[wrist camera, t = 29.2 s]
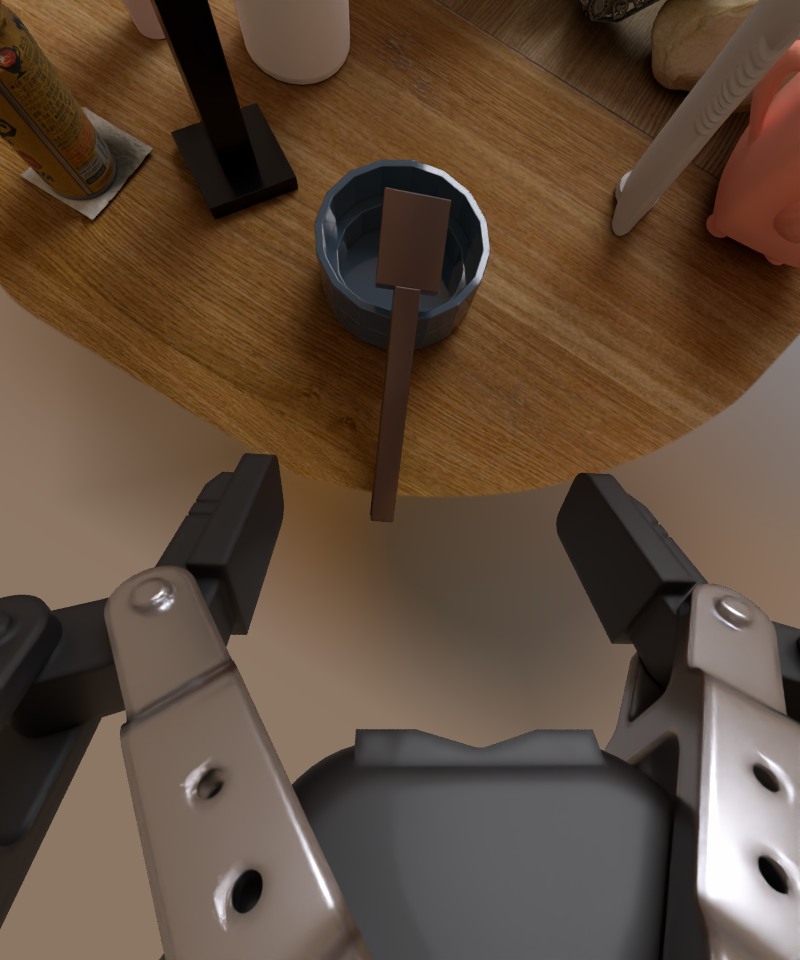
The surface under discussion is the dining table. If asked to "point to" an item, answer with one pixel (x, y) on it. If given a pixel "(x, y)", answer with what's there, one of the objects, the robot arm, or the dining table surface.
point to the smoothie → (144, 18)
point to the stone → (696, 41)
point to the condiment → (58, 128)
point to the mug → (296, 37)
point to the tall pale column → (707, 107)
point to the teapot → (766, 171)
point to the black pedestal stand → (220, 118)
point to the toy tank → (612, 9)
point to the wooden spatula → (403, 318)
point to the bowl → (355, 241)
